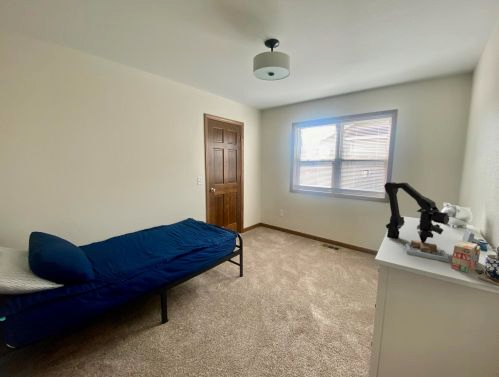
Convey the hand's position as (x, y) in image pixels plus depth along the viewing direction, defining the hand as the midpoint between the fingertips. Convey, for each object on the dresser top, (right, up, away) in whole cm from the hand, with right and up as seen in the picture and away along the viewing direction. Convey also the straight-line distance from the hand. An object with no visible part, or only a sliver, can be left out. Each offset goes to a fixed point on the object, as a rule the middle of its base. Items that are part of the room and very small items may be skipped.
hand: (423, 243), depth 134 cm
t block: (-4, -2, -6) cm, 7 cm away
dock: (-7, -3, -10) cm, 13 cm away
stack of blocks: (+2, -5, -24) cm, 25 cm away
